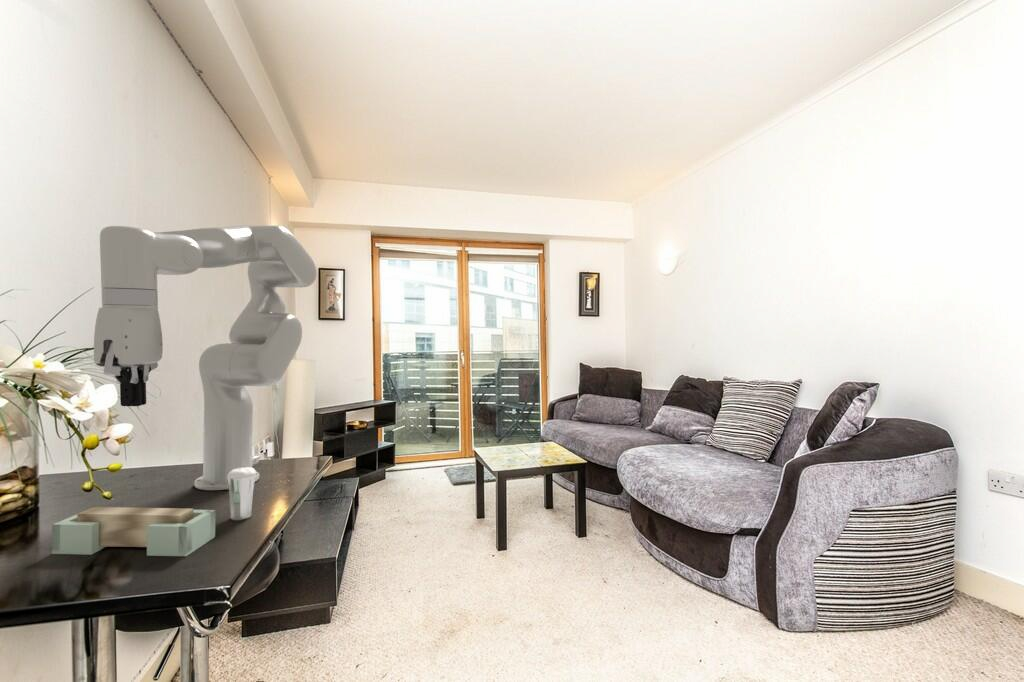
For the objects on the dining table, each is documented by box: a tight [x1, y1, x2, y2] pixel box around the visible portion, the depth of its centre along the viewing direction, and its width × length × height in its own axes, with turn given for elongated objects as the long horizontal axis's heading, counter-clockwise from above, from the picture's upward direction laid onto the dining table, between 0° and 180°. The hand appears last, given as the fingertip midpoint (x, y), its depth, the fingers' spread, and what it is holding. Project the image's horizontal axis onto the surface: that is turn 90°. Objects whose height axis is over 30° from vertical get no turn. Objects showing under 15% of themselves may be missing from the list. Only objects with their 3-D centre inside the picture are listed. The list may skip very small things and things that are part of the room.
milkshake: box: [227, 459, 257, 521], centre depth 87 cm, size 4×5×10 cm
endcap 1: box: [51, 514, 108, 555], centre depth 74 cm, size 6×7×4 cm
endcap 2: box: [146, 509, 216, 557], centre depth 74 cm, size 6×7×4 cm
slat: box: [76, 506, 194, 548], centre depth 74 cm, size 16×3×5 cm, turn 90°
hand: (133, 405), depth 82 cm, fingers closed
